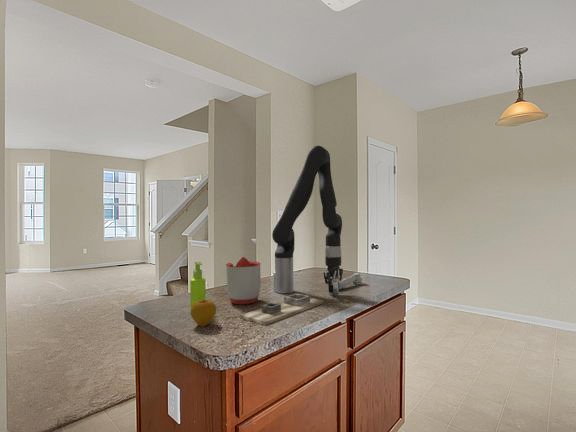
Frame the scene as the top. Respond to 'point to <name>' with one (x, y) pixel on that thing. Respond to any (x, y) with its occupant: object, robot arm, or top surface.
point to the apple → (203, 312)
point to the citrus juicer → (243, 281)
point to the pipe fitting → (335, 288)
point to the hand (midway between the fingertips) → (333, 291)
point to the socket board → (281, 309)
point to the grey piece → (351, 280)
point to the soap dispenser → (197, 285)
